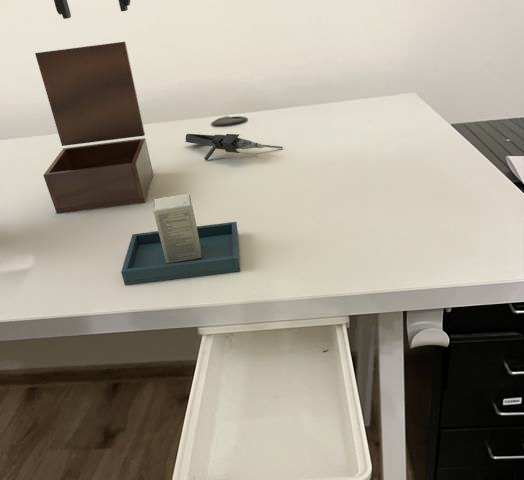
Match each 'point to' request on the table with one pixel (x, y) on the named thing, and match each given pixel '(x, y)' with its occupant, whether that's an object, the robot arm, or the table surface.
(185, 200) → the small box
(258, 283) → the table surface
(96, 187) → the chest
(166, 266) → the tray
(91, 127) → the lid
